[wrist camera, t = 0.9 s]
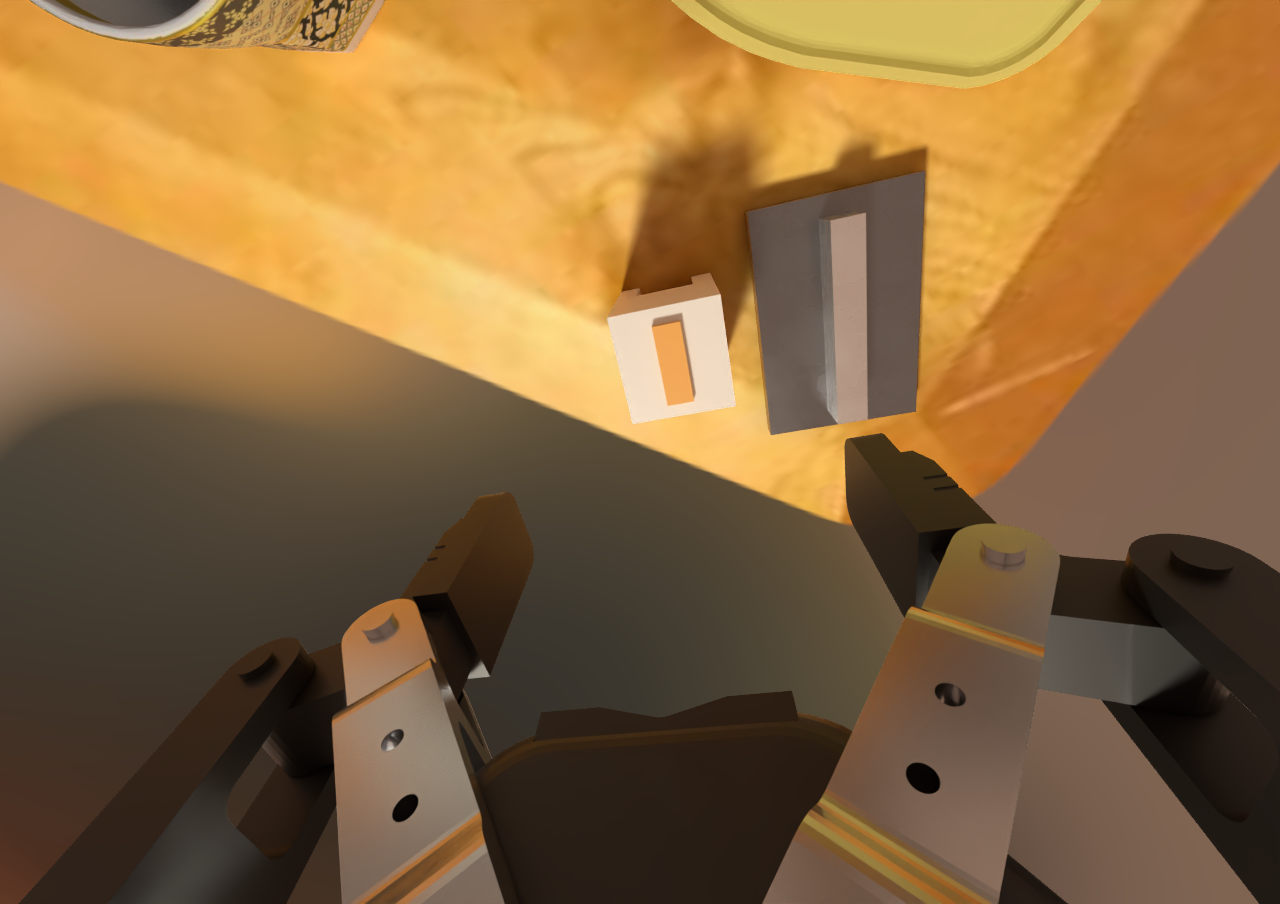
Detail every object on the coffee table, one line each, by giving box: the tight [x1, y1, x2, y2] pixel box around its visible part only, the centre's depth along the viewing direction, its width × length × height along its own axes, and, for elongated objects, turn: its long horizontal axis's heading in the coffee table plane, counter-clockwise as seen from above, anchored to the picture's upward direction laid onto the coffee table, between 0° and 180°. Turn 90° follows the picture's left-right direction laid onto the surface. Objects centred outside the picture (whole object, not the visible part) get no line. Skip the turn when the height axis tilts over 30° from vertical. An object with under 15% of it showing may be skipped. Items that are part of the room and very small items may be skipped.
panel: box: [745, 171, 925, 435], centre depth 25 cm, size 12×8×3 cm, turn 12°
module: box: [607, 273, 736, 424], centre depth 24 cm, size 5×5×7 cm
